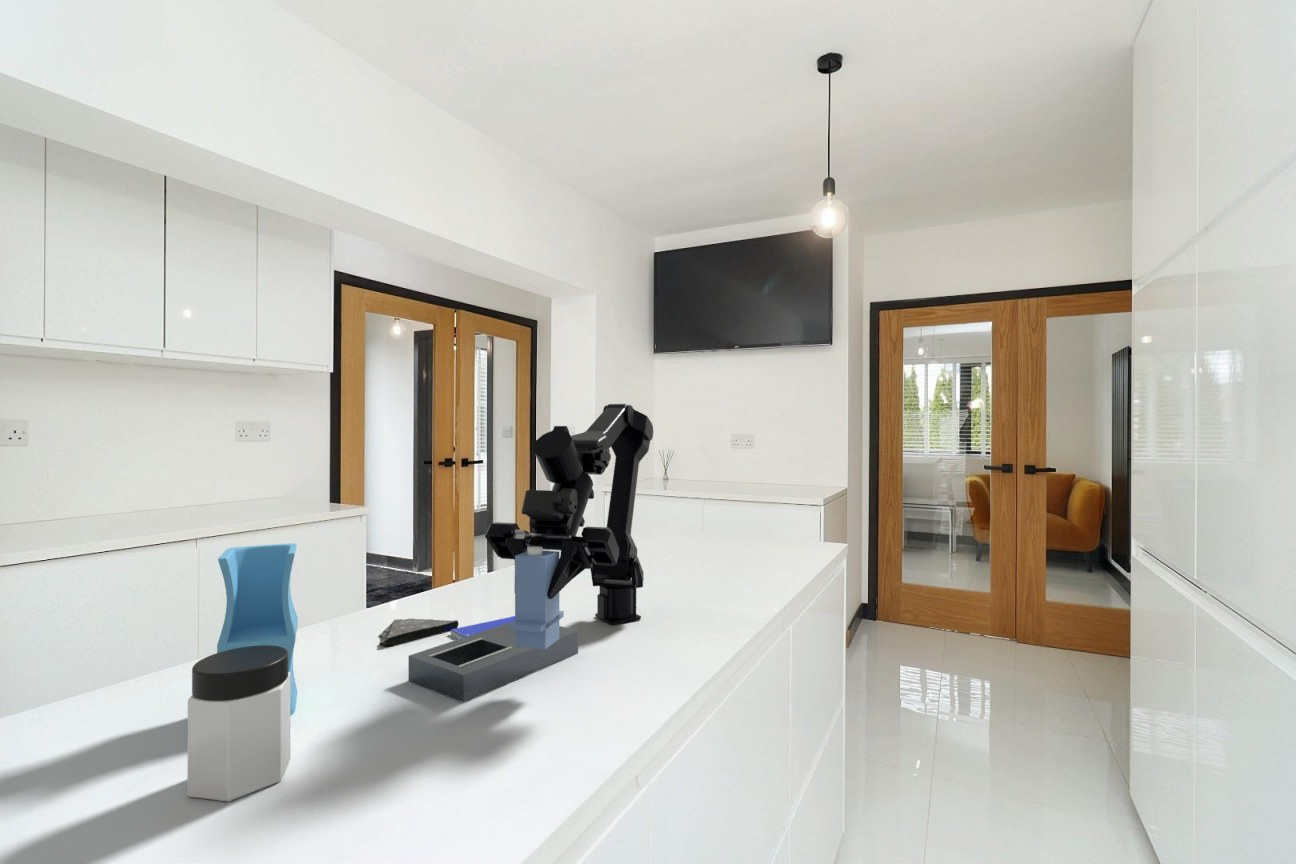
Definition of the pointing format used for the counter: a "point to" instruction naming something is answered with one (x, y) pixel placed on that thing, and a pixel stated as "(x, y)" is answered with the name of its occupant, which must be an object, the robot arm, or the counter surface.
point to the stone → (414, 630)
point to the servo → (535, 599)
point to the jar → (238, 722)
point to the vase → (259, 601)
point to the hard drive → (479, 627)
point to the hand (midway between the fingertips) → (532, 596)
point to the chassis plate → (484, 662)
